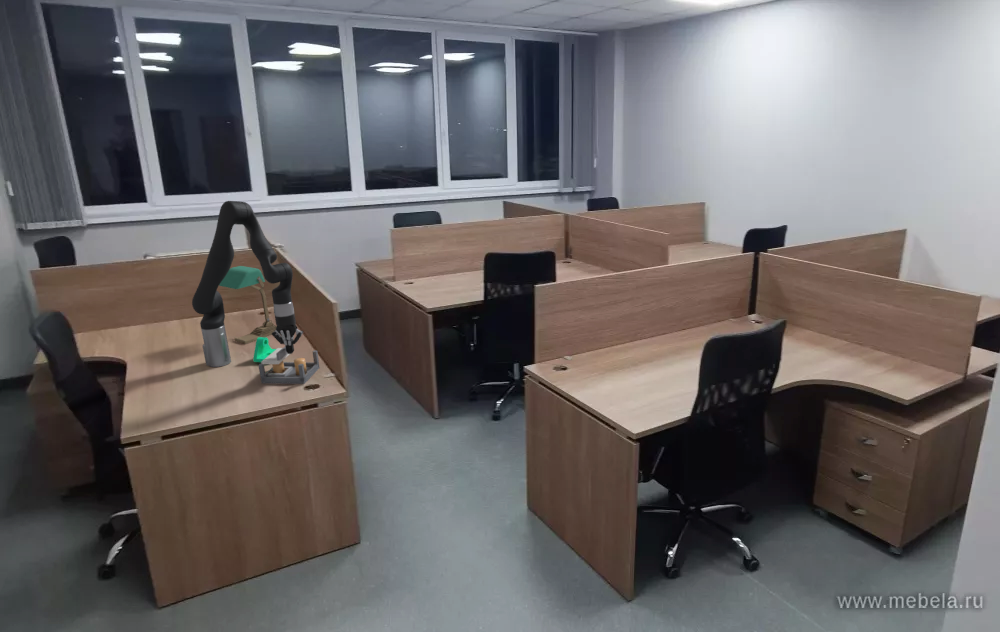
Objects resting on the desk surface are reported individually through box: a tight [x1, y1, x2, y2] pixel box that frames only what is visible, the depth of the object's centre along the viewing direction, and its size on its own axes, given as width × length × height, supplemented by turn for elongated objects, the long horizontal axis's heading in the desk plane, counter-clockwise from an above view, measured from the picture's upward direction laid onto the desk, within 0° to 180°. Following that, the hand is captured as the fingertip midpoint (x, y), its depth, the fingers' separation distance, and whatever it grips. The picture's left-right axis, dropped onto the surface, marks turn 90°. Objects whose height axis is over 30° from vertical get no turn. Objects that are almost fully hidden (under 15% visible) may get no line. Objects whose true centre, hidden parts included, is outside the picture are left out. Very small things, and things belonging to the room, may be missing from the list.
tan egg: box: [271, 360, 285, 373], centre depth 241 cm, size 4×4×6 cm
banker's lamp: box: [218, 265, 277, 345], centre depth 282 cm, size 16×21×35 cm
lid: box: [260, 346, 291, 365], centre depth 239 cm, size 7×15×4 cm, turn 175°
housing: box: [258, 350, 320, 385], centre depth 241 cm, size 18×16×8 cm
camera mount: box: [252, 337, 277, 363], centre depth 258 cm, size 12×8×10 cm, turn 169°
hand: (290, 353), depth 239 cm, fingers closed
